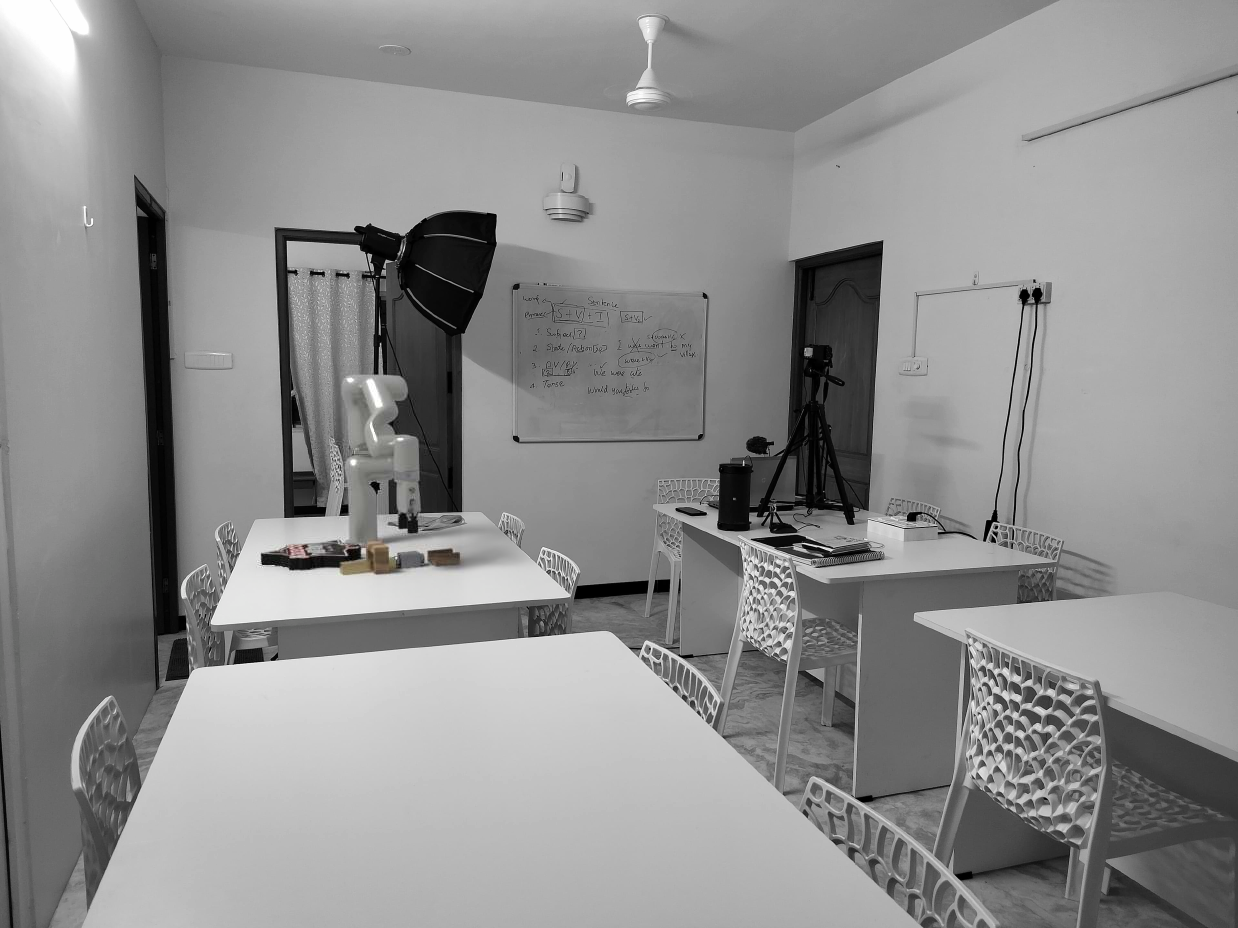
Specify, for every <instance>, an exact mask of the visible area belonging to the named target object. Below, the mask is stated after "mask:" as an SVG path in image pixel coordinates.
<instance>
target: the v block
mask: <svg viewBox="0 0 1238 928" xmlns="http://www.w3.org/2000/svg"><path fill="white" fill-rule="evenodd" d="M426 552H427V553H426V554H427V555H426V556H427V563H430V564H431V565H432V566H434V567H442V565H444V566H451V565H450V564H453V565H460V564H461V552H459V551H456V552H454V551H453V548H451V547H450V548H440V549H430V550H429V549H428V550H427V551H426ZM459 563H460V564H459Z"/></svg>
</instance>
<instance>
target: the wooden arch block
mask: <svg viewBox="0 0 1238 928" xmlns="http://www.w3.org/2000/svg"><path fill="white" fill-rule="evenodd" d="M389 557H390V547H389V546H388V545H387V544H385V543H383V541H382V542H380V541H379V540H377V541H366V547H365V560H368V559H373V566H374V572H373V574H374V575H382V574H383V573H384V574H390V570H389Z"/></svg>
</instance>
